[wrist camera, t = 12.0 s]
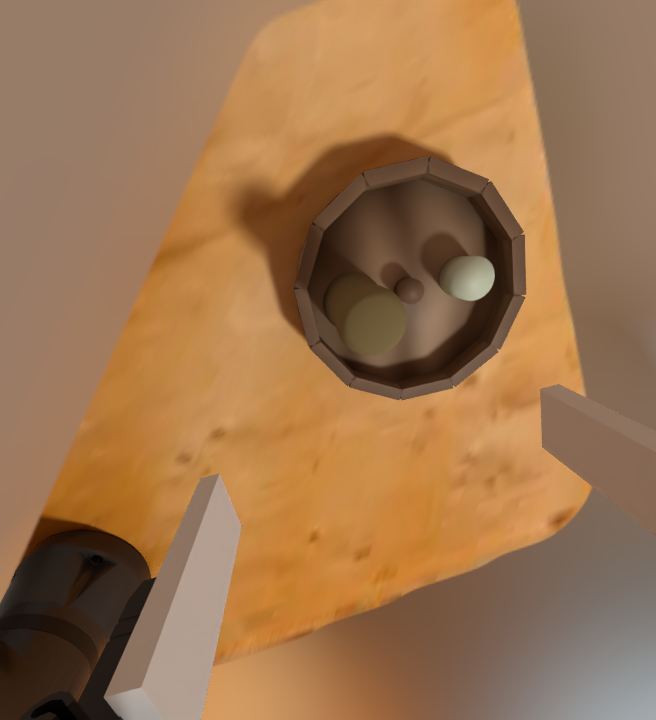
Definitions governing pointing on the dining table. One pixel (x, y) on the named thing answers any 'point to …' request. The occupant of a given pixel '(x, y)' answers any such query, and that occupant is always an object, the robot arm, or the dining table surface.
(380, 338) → the olive green knobbed peg
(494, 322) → the tray
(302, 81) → the dining table surface
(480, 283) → the pale beige rounded lump
